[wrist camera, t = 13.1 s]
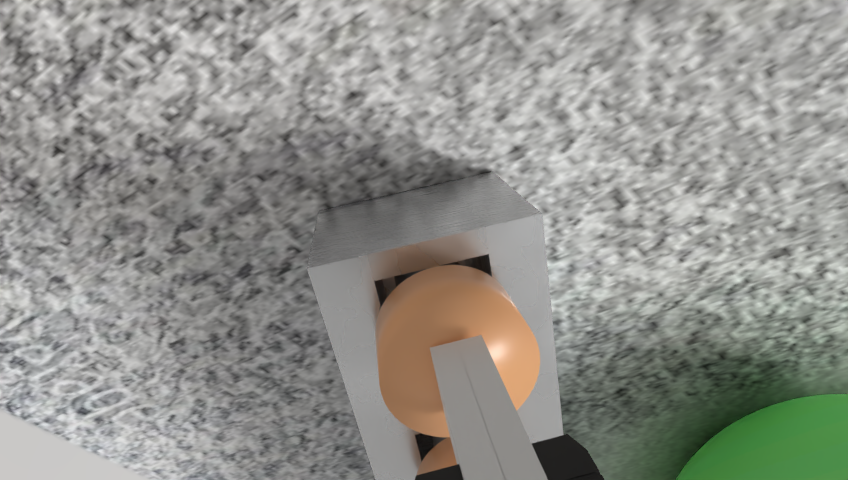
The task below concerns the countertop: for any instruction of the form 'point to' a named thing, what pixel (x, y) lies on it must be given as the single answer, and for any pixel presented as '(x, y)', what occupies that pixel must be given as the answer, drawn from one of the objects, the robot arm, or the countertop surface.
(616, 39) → the countertop surface
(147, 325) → the countertop surface
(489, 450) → the robot arm
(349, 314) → the mount
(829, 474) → the toy bird
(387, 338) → the knob
